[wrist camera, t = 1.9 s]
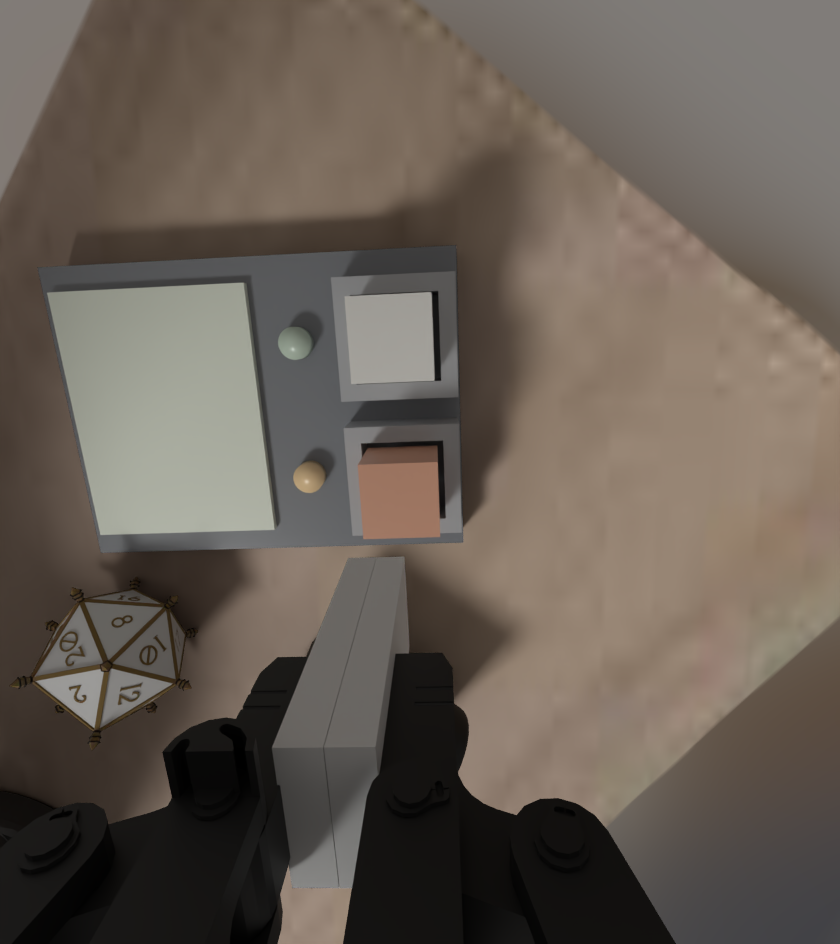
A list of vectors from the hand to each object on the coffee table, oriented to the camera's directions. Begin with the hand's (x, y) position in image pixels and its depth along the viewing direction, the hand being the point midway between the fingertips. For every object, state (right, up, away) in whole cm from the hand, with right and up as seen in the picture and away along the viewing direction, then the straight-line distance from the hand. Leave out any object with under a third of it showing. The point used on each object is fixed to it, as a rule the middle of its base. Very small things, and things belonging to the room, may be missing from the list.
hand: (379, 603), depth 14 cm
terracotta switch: (0, +3, +12) cm, 13 cm away
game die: (-16, -6, +19) cm, 26 cm away
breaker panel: (-7, +7, +15) cm, 18 cm away
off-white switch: (0, +10, +10) cm, 14 cm away
